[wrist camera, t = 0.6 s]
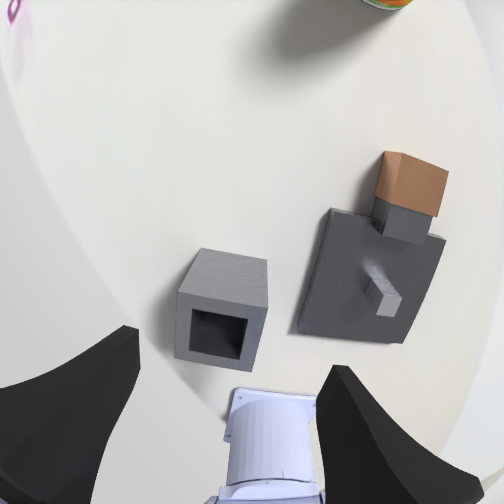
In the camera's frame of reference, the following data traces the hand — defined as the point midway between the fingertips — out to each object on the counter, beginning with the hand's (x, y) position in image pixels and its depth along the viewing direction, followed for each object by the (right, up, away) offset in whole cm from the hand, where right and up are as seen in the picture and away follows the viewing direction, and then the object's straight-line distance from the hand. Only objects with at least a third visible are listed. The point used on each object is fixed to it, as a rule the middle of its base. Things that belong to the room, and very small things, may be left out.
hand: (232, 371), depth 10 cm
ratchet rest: (+10, +4, +9) cm, 14 cm away
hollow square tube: (-1, +2, +10) cm, 10 cm away
